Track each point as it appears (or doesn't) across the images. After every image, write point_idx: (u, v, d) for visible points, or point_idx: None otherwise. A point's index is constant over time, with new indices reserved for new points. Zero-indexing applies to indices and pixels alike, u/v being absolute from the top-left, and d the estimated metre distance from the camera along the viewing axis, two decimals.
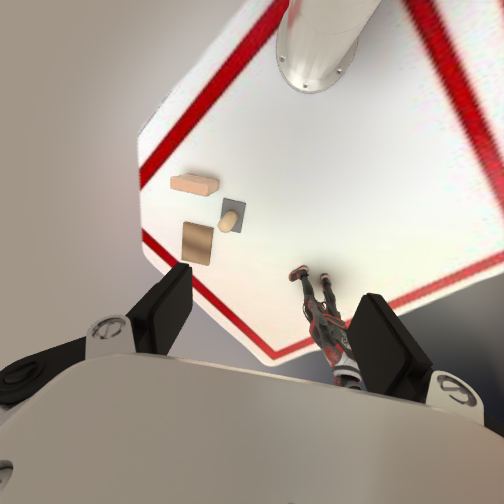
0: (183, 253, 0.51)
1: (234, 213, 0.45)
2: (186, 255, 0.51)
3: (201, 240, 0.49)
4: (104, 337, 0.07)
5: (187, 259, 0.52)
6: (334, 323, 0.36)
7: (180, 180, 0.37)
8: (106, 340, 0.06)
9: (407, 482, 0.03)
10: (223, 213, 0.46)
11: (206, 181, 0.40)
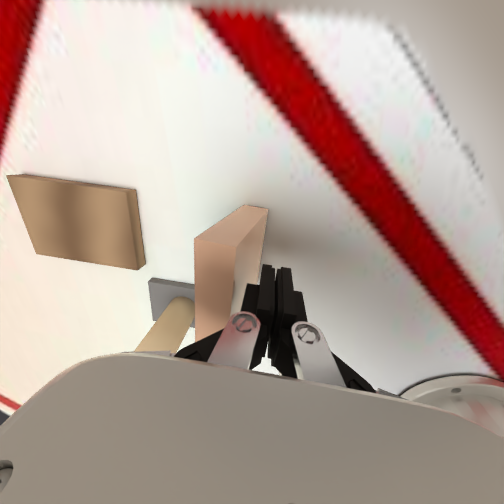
0: (30, 184, 0.16)
1: None
2: (30, 195, 0.17)
3: (97, 241, 0.18)
4: (238, 328, 0.08)
5: (19, 196, 0.17)
6: None
7: (229, 281, 0.10)
8: (237, 332, 0.07)
9: (407, 482, 0.03)
10: (185, 292, 0.20)
11: None
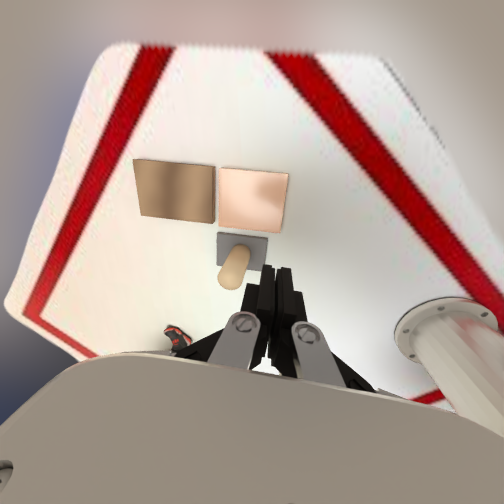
0: (148, 164, 0.25)
1: None
2: (146, 172, 0.25)
3: (186, 203, 0.26)
4: (238, 328, 0.08)
5: (138, 173, 0.25)
6: None
7: (219, 184, 0.24)
8: (237, 332, 0.07)
9: (407, 482, 0.03)
10: (243, 240, 0.28)
11: (247, 218, 0.26)
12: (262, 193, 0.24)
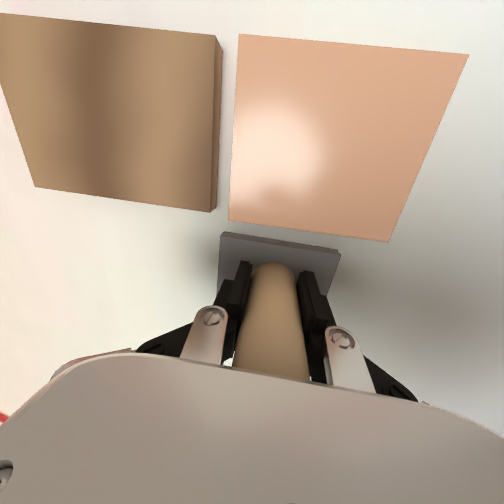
0: (24, 29, 0.08)
1: None
2: (24, 57, 0.09)
3: (144, 157, 0.10)
4: (206, 322, 0.08)
5: (2, 61, 0.09)
6: None
7: (236, 98, 0.08)
8: (206, 326, 0.07)
9: (407, 482, 0.03)
10: (282, 254, 0.12)
11: (306, 200, 0.10)
12: (365, 125, 0.08)
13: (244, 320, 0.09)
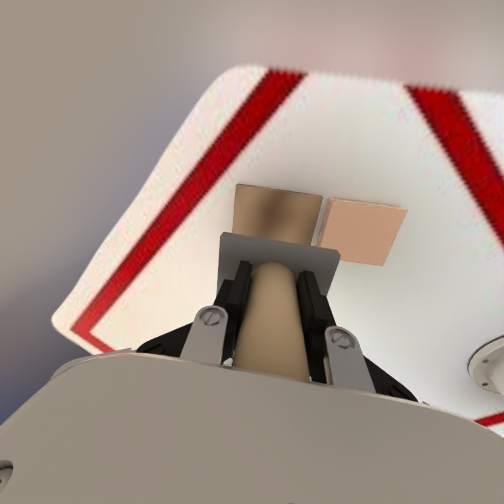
0: (252, 191, 0.24)
1: None
2: (248, 198, 0.24)
3: (285, 231, 0.25)
4: (206, 322, 0.08)
5: (239, 199, 0.24)
6: None
7: (328, 216, 0.24)
8: (206, 326, 0.07)
9: (407, 482, 0.03)
10: (282, 254, 0.12)
11: (350, 250, 0.25)
12: (374, 227, 0.23)
13: (244, 321, 0.09)
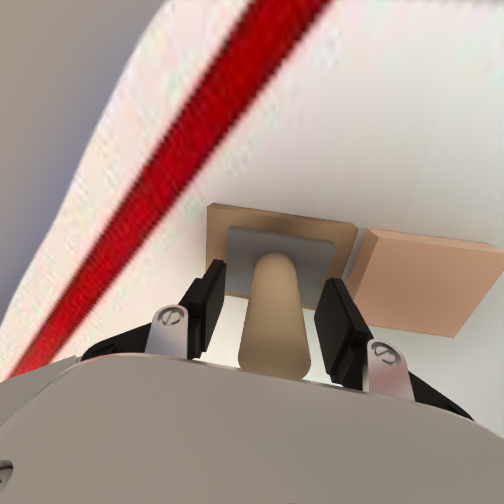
0: (235, 217, 0.14)
1: None
2: None
3: None
4: (165, 323, 0.07)
5: (213, 230, 0.14)
6: None
7: (367, 261, 0.14)
8: (166, 326, 0.07)
9: (407, 482, 0.03)
10: (284, 245, 0.13)
11: (401, 313, 0.15)
12: (447, 280, 0.13)
13: (251, 299, 0.10)
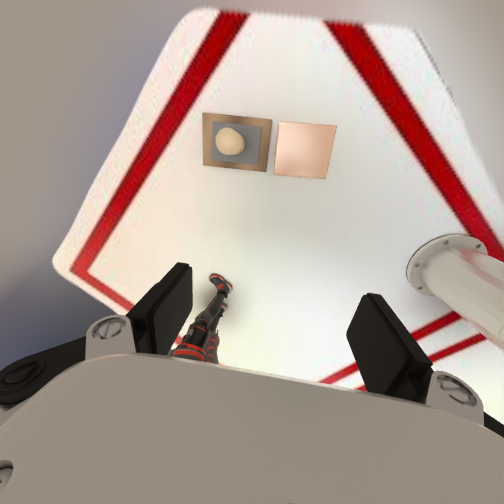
0: (215, 117, 0.29)
1: (242, 149, 0.29)
2: None
3: None
4: (104, 337, 0.07)
5: (205, 125, 0.30)
6: None
7: None
8: (106, 340, 0.06)
9: (407, 482, 0.03)
10: (238, 128, 0.29)
11: (298, 166, 0.31)
12: (314, 143, 0.29)
13: None
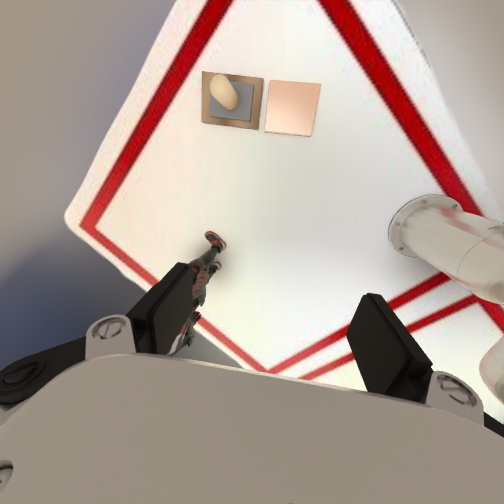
0: (213, 76, 0.33)
1: (236, 104, 0.33)
2: None
3: None
4: (104, 337, 0.07)
5: (204, 83, 0.34)
6: None
7: (268, 94, 0.33)
8: (106, 340, 0.06)
9: (407, 482, 0.03)
10: (233, 85, 0.33)
11: (287, 123, 0.34)
12: (300, 100, 0.33)
13: None
